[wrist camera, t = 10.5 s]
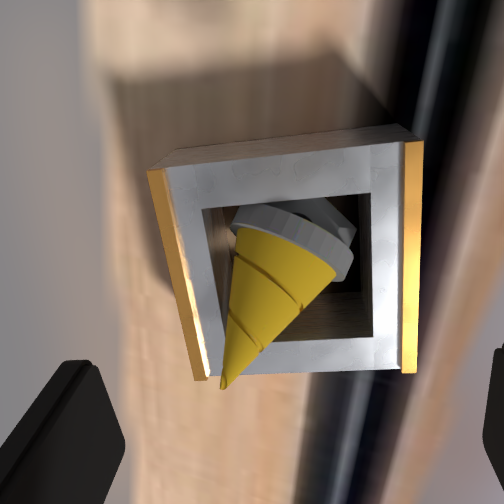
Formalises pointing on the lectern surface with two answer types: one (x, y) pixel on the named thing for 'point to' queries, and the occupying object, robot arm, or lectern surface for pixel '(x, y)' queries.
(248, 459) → the lectern surface
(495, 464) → the robot arm
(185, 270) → the block
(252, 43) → the lectern surface
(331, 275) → the drill bit
